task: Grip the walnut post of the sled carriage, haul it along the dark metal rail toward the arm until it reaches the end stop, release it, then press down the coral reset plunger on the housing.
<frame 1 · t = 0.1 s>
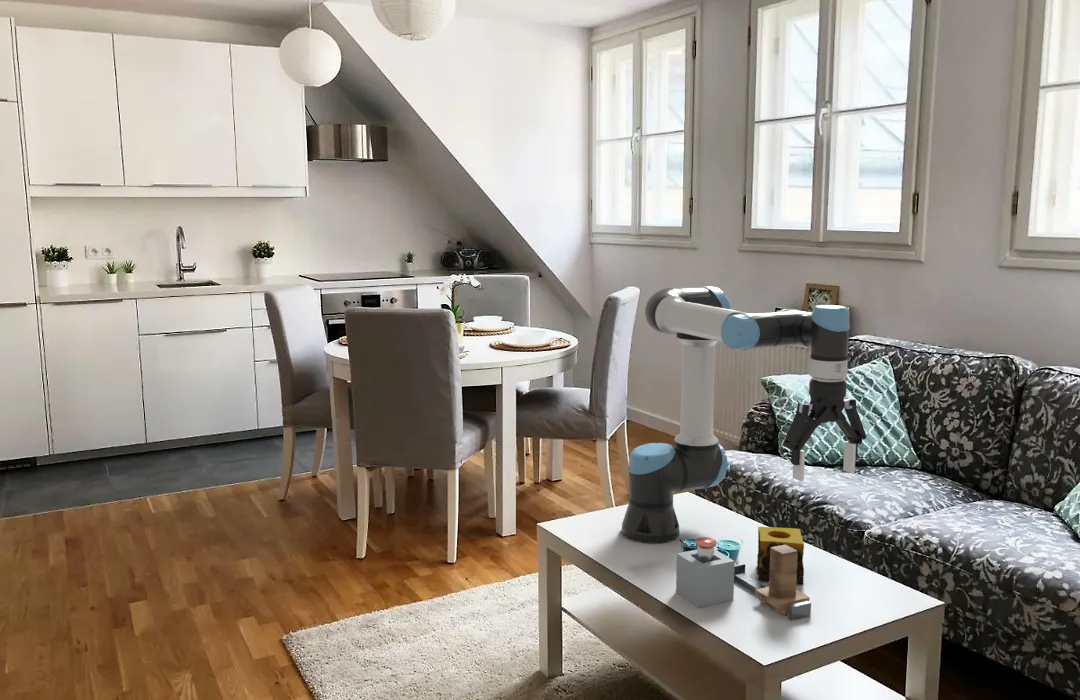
hand: (823, 475, 192), 28 cm above the table, fingers open, 13 cm apart
housing: (704, 595, 197), on the table
carriage: (782, 577, 191), point 7 cm above the table, slide at 5.5 cm
rail: (765, 596, 197), on the table
plunger: (705, 551, 196), point 10 cm above the table, slide at 0.0 cm
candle: (779, 576, 208), on the table
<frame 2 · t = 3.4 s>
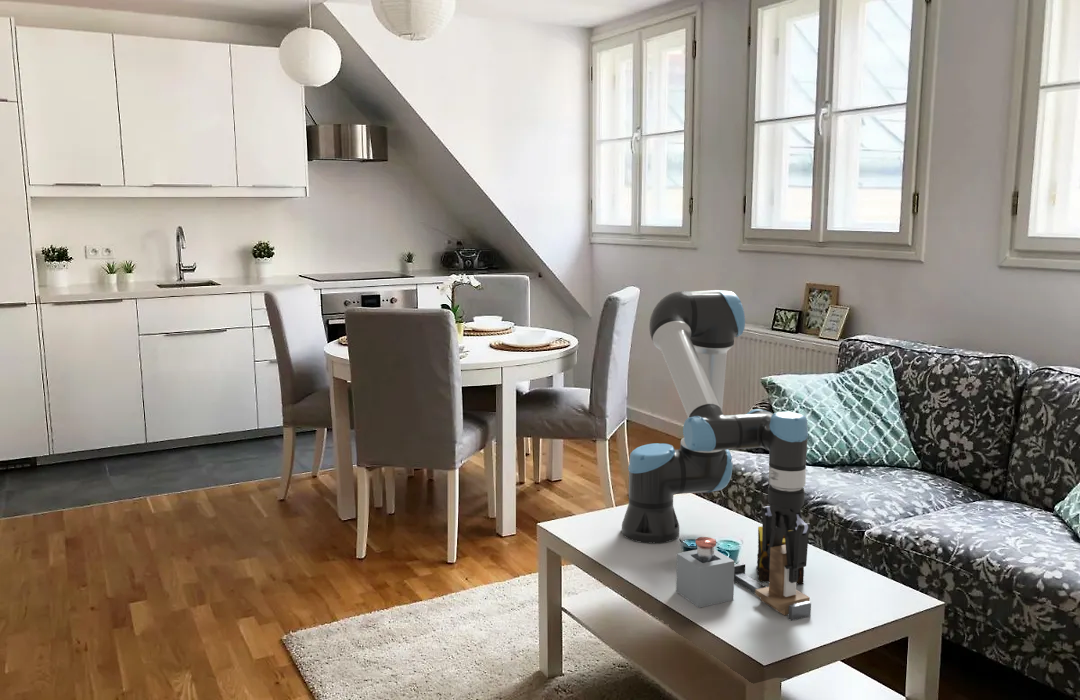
hand: (782, 590, 191), 4 cm above the table, fingers closed on carriage, 4 cm apart
carriage: (782, 577, 191), point 7 cm above the table, slide at 5.5 cm, touching gripper
everything else where it was.
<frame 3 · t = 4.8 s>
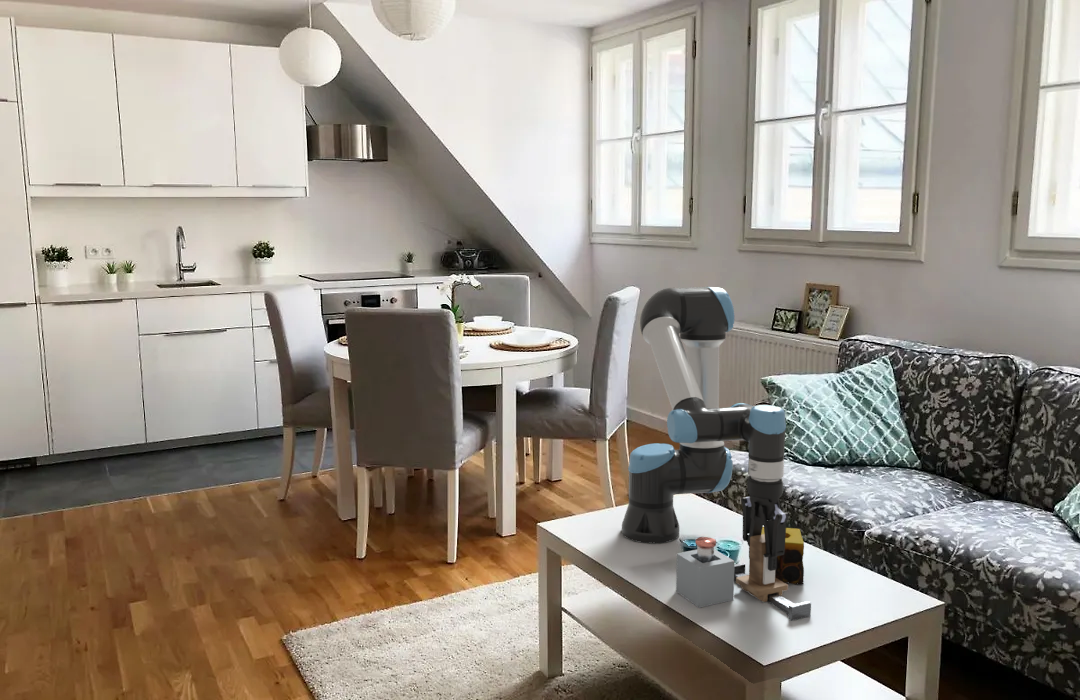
hand: (761, 578, 197), 4 cm above the table, fingers closed on carriage, 4 cm apart
carriage: (762, 565, 197), point 7 cm above the table, slide at -1.5 cm, touching gripper
everything else where it was.
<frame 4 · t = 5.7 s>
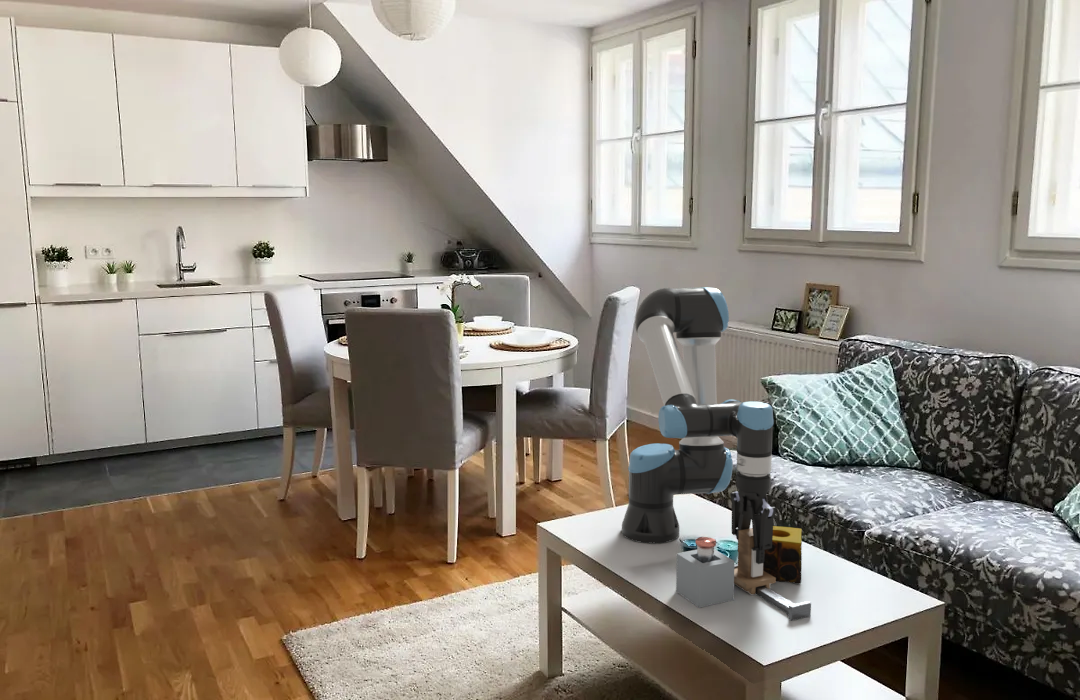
hand: (750, 571, 201), 4 cm above the table, fingers closed on carriage, 4 cm apart
carriage: (750, 559, 201), point 7 cm above the table, slide at -5.6 cm, touching gripper
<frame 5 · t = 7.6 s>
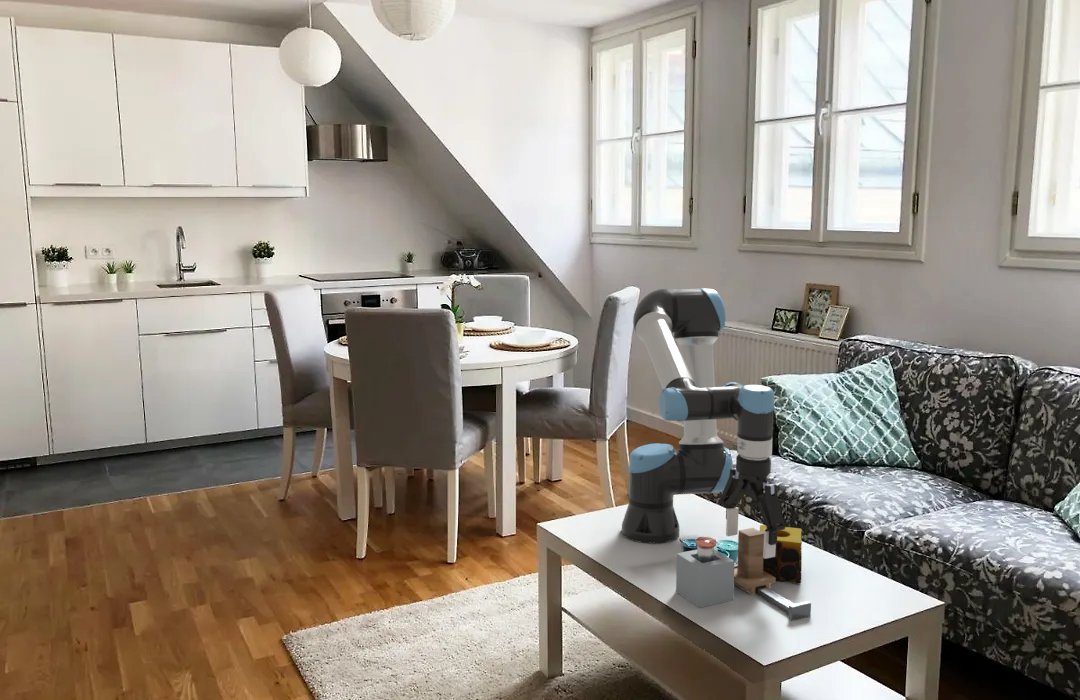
hand: (749, 545, 201), 9 cm above the table, fingers open, 13 cm apart
carriage: (750, 559, 201), point 7 cm above the table, slide at -5.7 cm
everything else where it was.
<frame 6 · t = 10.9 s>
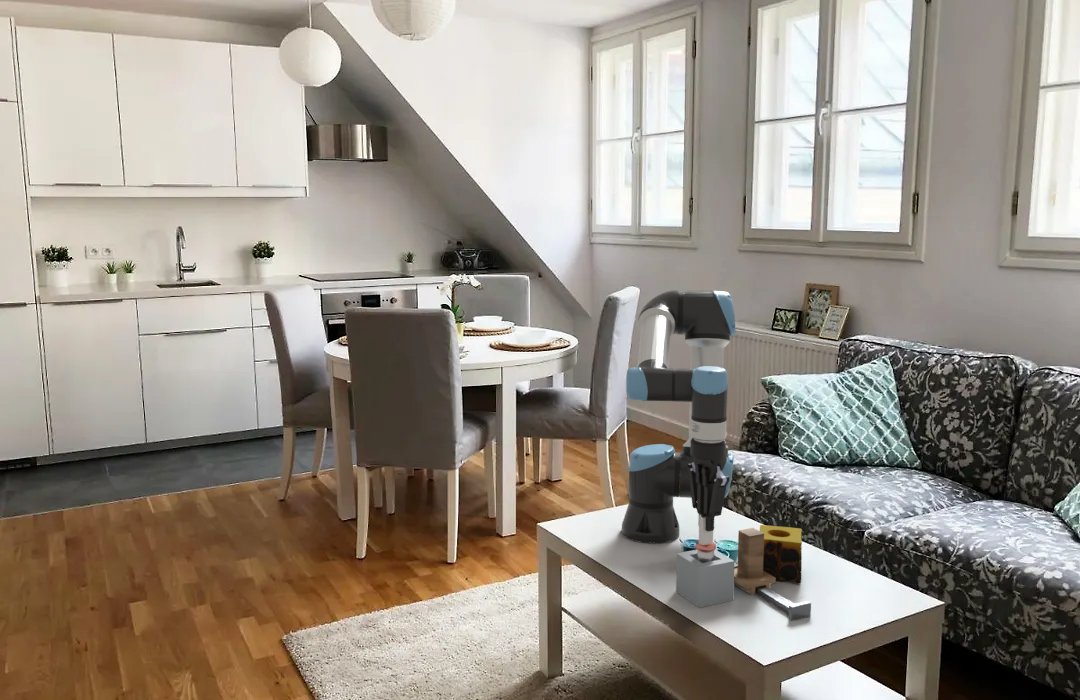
hand: (705, 543, 195), 12 cm above the table, fingers closed
plunger: (705, 554, 196), point 10 cm above the table, slide at 0.8 cm, touching gripper
everything else where it was.
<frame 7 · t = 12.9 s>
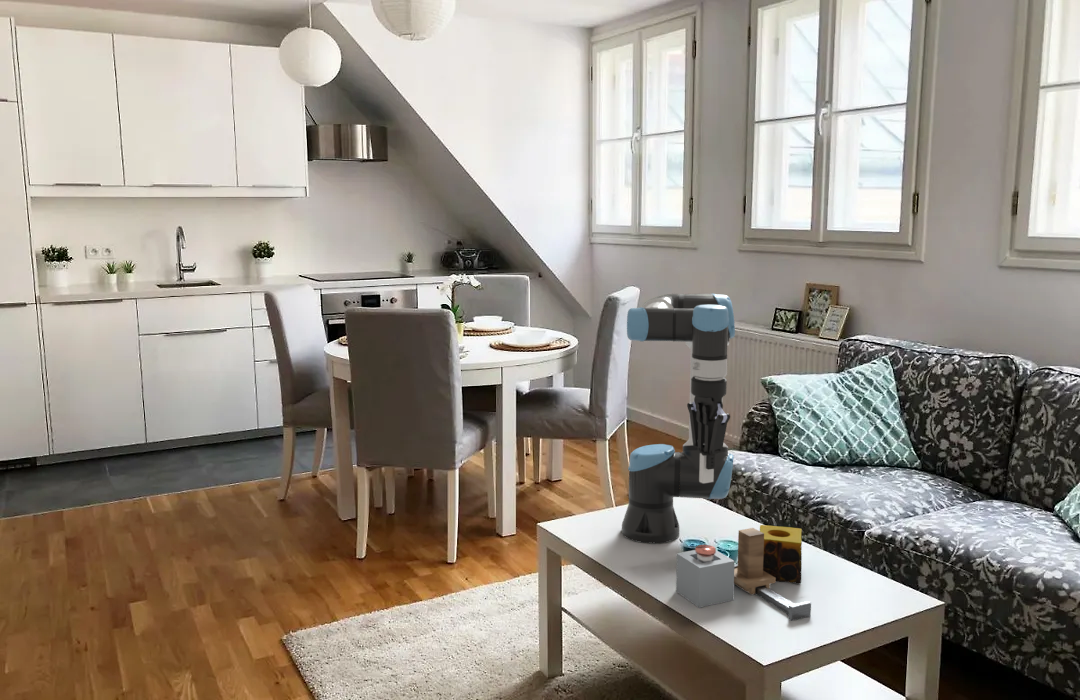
hand: (706, 481, 196), 25 cm above the table, fingers closed
plunger: (705, 558, 196), point 9 cm above the table, slide at 1.8 cm
everything else where it was.
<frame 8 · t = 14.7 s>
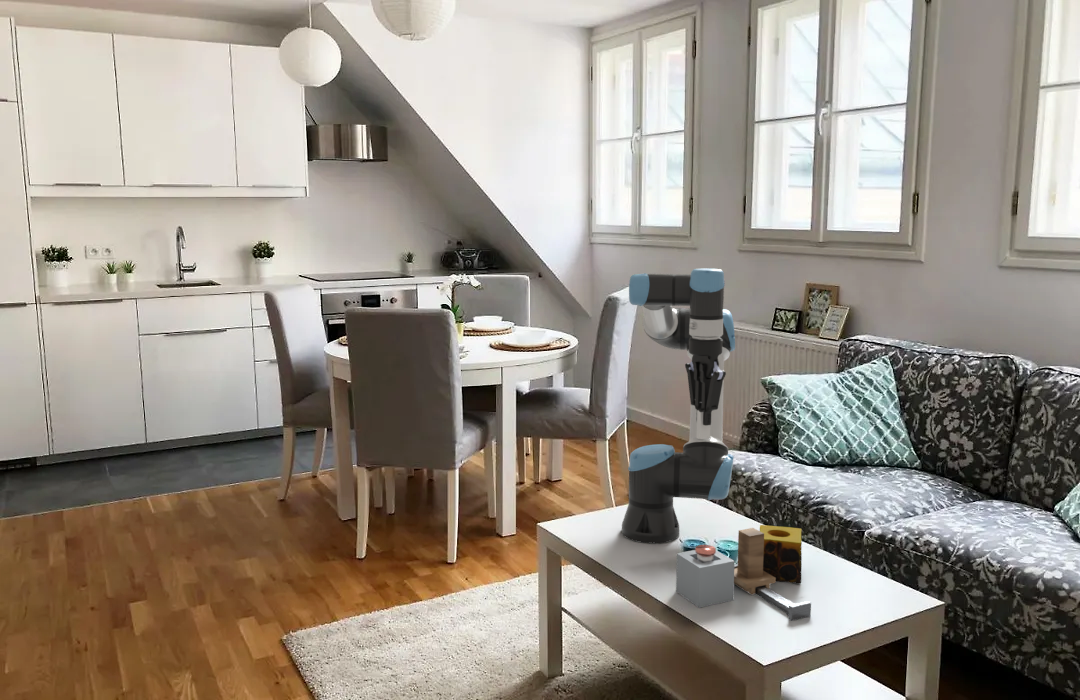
hand: (703, 437, 206), 32 cm above the table, fingers closed
nothing on the table moved.
at the end: carriage slide at -5.7 cm; plunger slide at 1.8 cm; the gripper is holding nothing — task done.
